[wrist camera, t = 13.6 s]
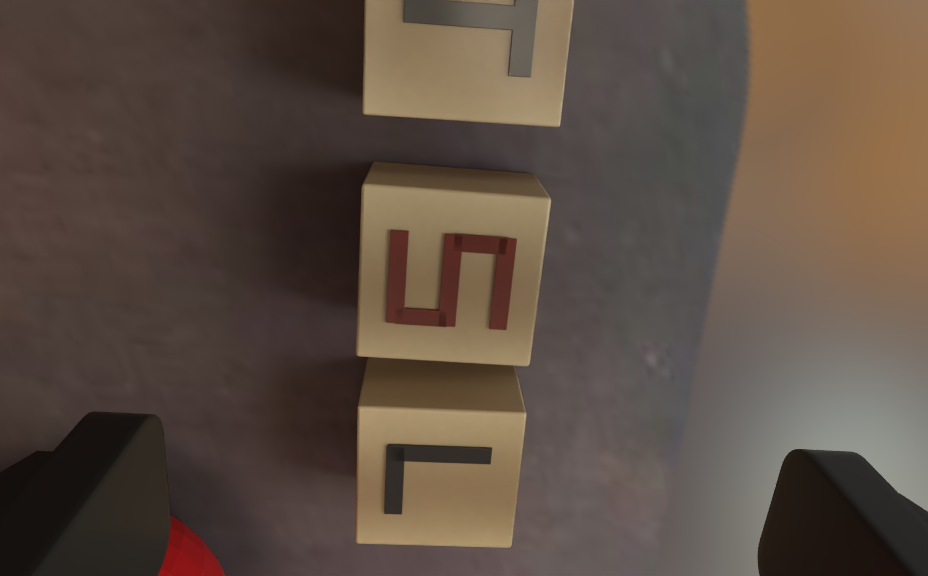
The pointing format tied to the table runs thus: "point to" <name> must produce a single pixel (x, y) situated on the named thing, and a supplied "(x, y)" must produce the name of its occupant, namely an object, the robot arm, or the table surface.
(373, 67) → the letter t tile
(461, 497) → the letter l tile
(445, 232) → the tile
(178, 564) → the ornament
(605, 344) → the table surface
